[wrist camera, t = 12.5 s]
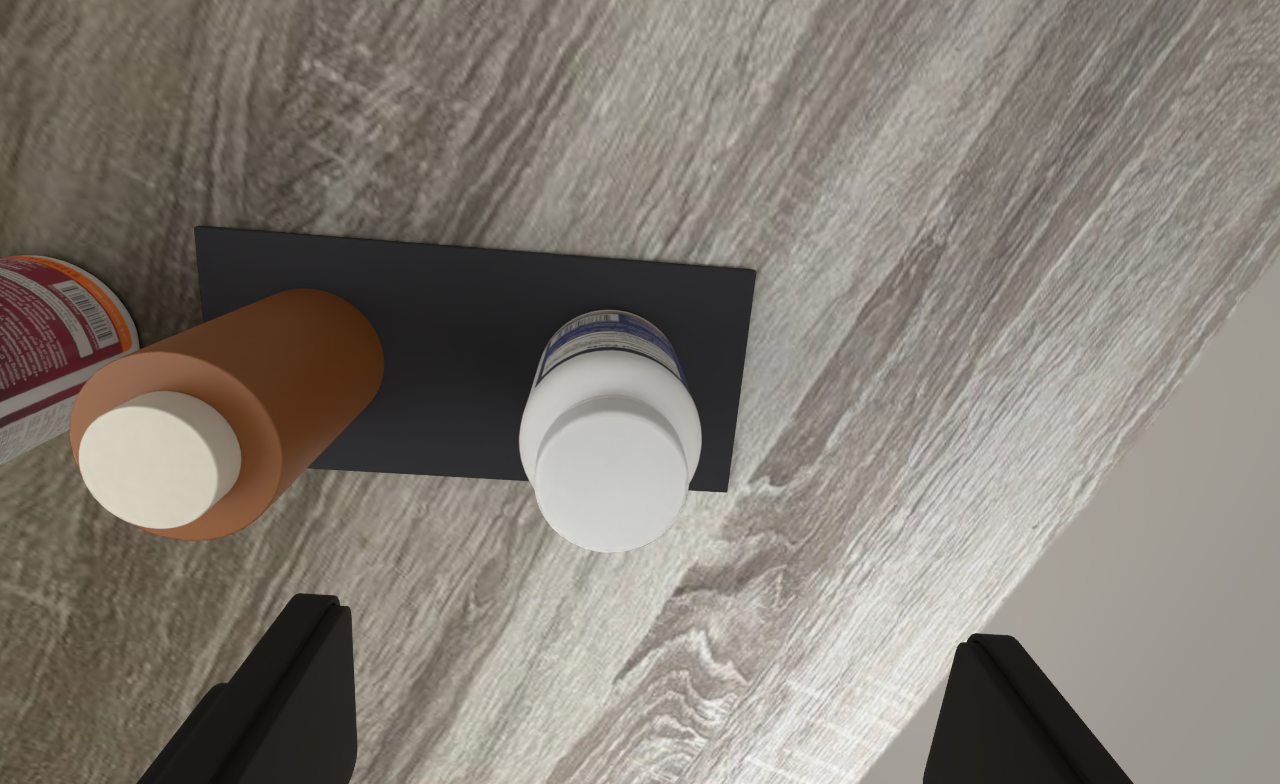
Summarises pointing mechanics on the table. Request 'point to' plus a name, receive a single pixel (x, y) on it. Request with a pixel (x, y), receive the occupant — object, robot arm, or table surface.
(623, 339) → the pill bottle
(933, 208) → the table surface
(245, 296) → the plate
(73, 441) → the amber bottle
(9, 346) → the pill bottle
